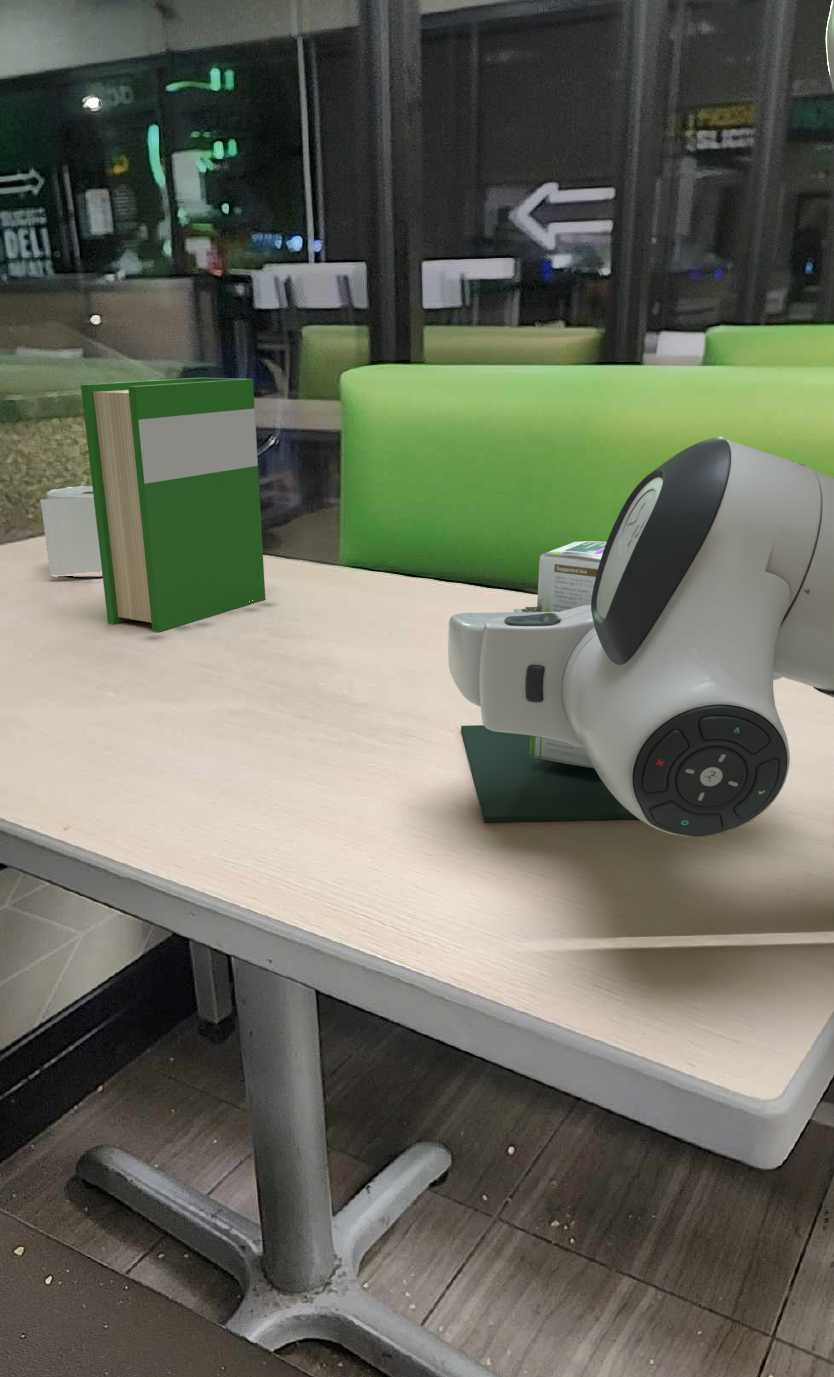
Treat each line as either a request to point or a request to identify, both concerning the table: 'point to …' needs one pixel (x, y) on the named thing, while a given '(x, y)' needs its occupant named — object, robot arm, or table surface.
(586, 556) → the syrup box
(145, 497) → the hardback book
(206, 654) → the table surface
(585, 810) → the mat
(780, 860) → the table surface
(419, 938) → the table surface
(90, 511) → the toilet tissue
